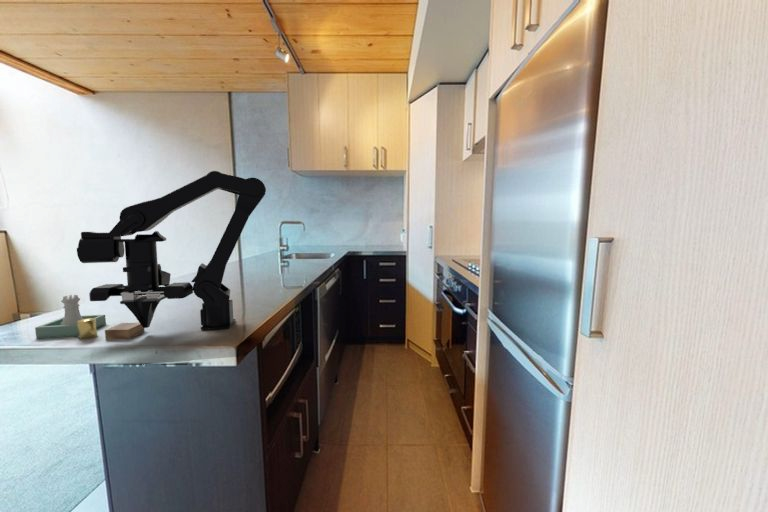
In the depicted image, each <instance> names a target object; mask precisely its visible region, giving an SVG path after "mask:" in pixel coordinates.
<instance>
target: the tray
mask: <svg viewBox="0 0 768 512" xmlns="http://www.w3.org/2000/svg"><path fill="white" fill-rule="evenodd" d="M81 317H83V319H88V318H95V319H96V329H99V328H101V327H102V326H105V325H107V320H106V314H91V315H90V314H87V315H86V314H85V315H81ZM63 319H64V316H62V317H60V318H57V319H55V320H52V321H49V322H47V323H44V324H42V325H38V326H35V327H34V329H35V338H36V339H47V338H48V339H50V338H51V339H52V338H68V337H70V338H71V337H79V333H78V325H61V323H62V322H63Z"/></svg>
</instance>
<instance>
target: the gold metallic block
mask: <svg viewBox="0 0 768 512" xmlns="http://www.w3.org/2000/svg"><path fill="white" fill-rule="evenodd" d="M77 323H78V333H79V336H78V340H80V339H85V340H90V338H91V339H94V338H97V337H98V330H97V329H98V328H97V329H96V319H95V318H88V319H82V320H79V321H77Z"/></svg>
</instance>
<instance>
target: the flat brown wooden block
mask: <svg viewBox="0 0 768 512" xmlns="http://www.w3.org/2000/svg"><path fill="white" fill-rule="evenodd" d="M144 332H145V328H143V327H142V325H141V324H140V322H120V323H118V324H116V325H114V326H110V327H109V328H107V329H104V334H105V335H104V338H105V340H106V339H110V340H131V339H133V338H134V337H136V336H138V335H140V334H142V333H144Z"/></svg>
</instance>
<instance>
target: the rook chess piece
mask: <svg viewBox="0 0 768 512" xmlns="http://www.w3.org/2000/svg"><path fill="white" fill-rule="evenodd" d="M80 300H81V297H79V295H78V294H73V295H72V294H70V295H65V296H63V297H62V300H61V302H62V304H63V305H64V306H63V309H64V316H63V317H64V319H63V322H62V323H61V325H78V323H77V321H79V320H82V319H83V317H81V316H82V315H81V312H80V311H81V310H80V308H79V307H80V304H79V302H80Z"/></svg>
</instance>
